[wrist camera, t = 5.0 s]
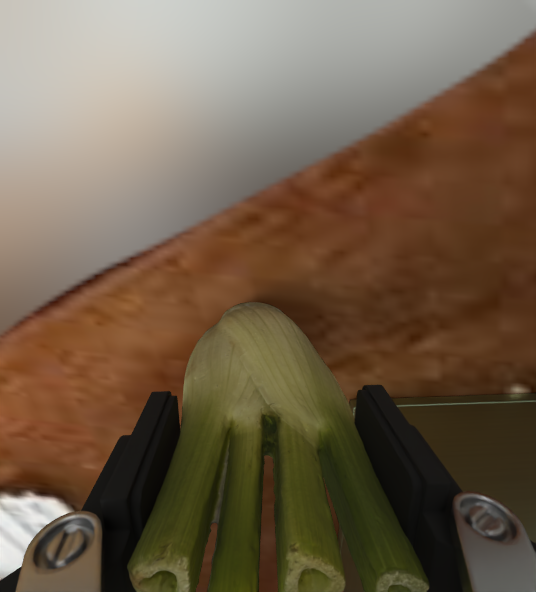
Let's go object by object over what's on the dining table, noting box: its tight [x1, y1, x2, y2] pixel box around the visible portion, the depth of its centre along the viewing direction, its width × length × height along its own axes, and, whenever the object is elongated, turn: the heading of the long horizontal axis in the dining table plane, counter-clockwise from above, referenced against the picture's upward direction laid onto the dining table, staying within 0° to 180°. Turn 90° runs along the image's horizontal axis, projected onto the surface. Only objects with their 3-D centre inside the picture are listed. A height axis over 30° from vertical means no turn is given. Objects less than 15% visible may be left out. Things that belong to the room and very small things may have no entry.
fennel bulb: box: [127, 302, 429, 592], centre depth 12 cm, size 6×5×12 cm
